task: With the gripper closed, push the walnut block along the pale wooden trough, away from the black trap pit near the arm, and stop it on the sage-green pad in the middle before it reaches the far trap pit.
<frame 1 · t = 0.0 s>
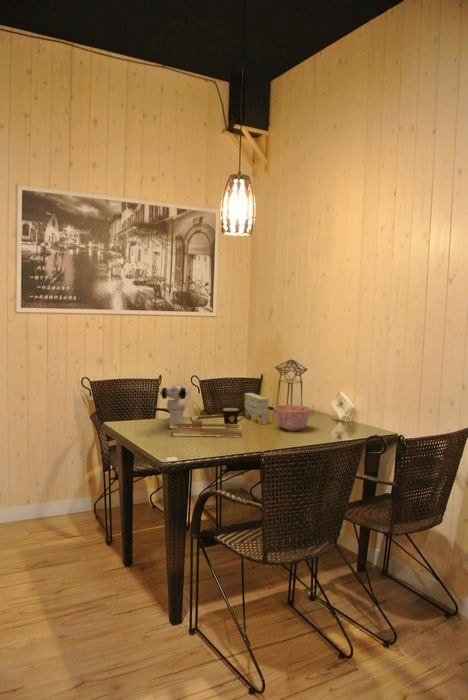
hand: (172, 394, 282), 22 cm above the table, tool horizontal, fingers open, 7 cm apart
geometric lantern: (290, 416, 337), on the table
snack box: (256, 421, 323), on the table
trap trough: (206, 434, 289), on the table
walnut block: (197, 428, 288), point 3 cm above the table, touching trap trough
bowl of food: (291, 429, 303), on the table
coffee mug: (233, 427, 305), on the table
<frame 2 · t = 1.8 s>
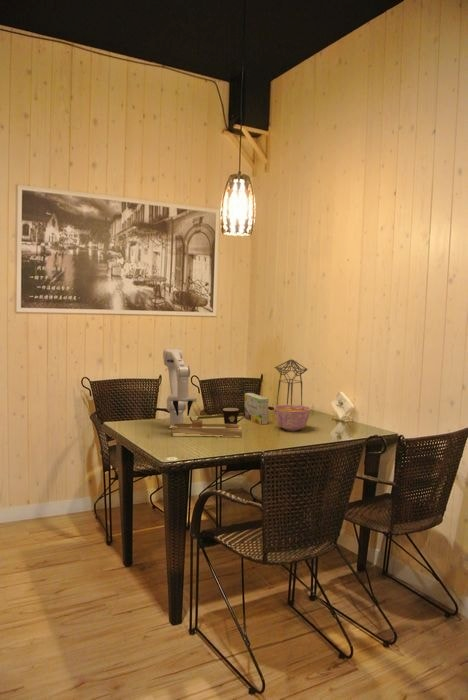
hand: (182, 415, 288), 10 cm above the table, tool pointing down, fingers open, 5 cm apart
nothing on the table moved.
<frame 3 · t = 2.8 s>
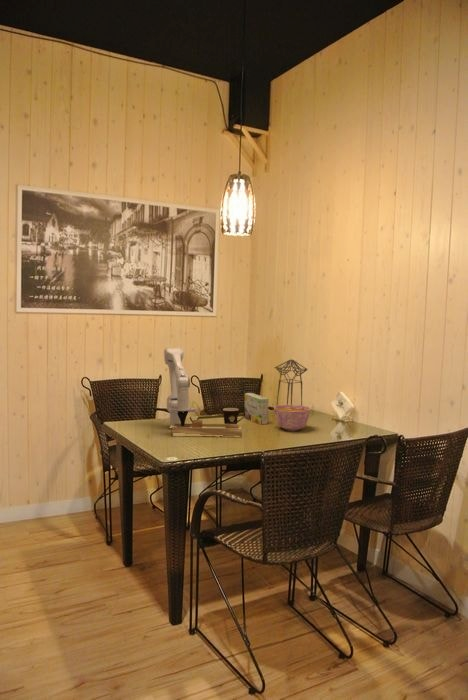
hand: (182, 425, 288), 4 cm above the table, tool pointing down, fingers closed
nothing on the table moved.
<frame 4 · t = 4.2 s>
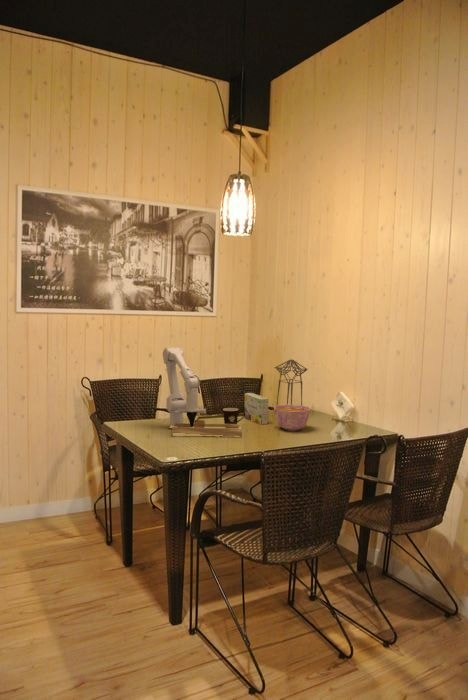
hand: (191, 426, 288), 4 cm above the table, tool pointing down, fingers closed
walnut block: (199, 428, 288), point 3 cm above the table, touching gripper
everything else where it was.
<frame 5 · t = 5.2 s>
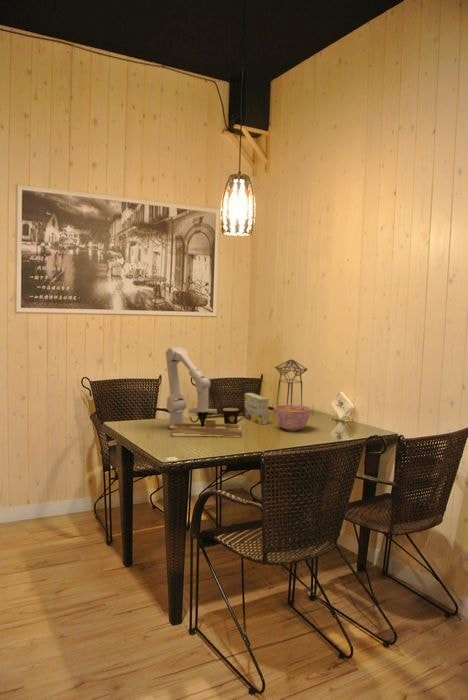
hand: (202, 426, 288), 4 cm above the table, tool pointing down, fingers closed
walnut block: (210, 428, 288), point 3 cm above the table, touching gripper, trap trough
everything else where it was.
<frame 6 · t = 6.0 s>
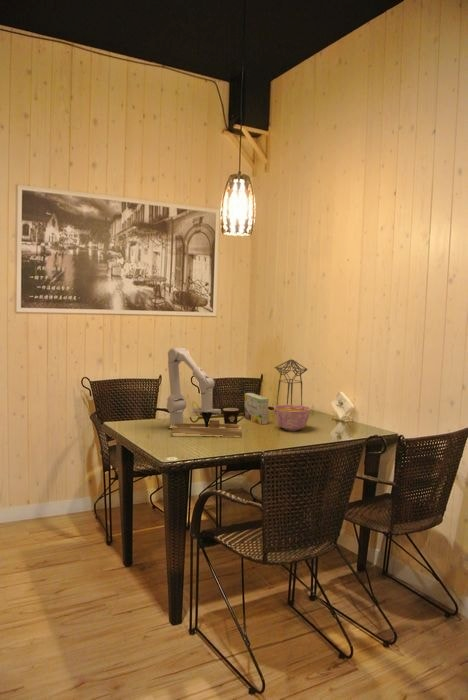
hand: (206, 426, 288), 4 cm above the table, tool pointing down, fingers closed
walnut block: (214, 428, 288), point 3 cm above the table, touching gripper, trap trough
everything else where it was.
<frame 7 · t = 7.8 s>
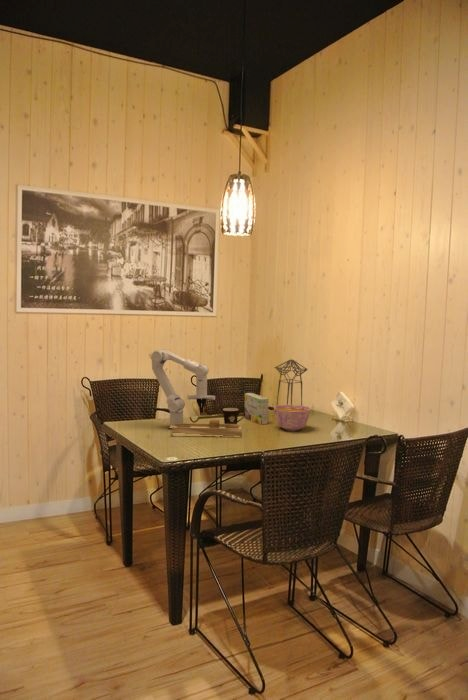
hand: (201, 412, 298), 9 cm above the table, tool pointing down, fingers closed
walnut block: (214, 428, 288), point 3 cm above the table, touching trap trough
everything else where it was.
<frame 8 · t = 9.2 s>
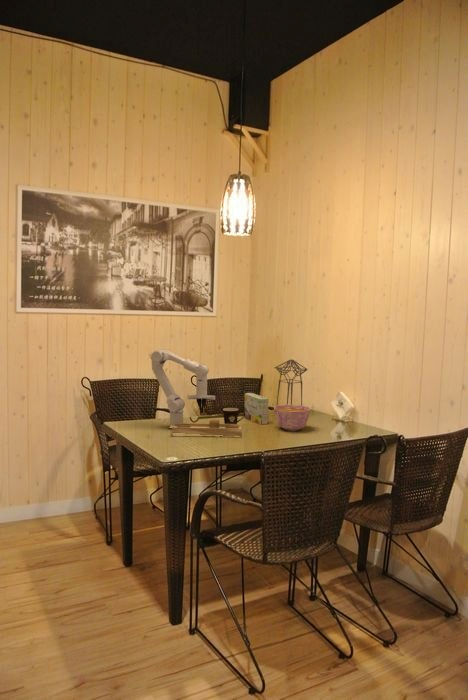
hand: (201, 412, 298), 9 cm above the table, tool pointing down, fingers closed
nothing on the table moved.
at the end: walnut block inside the target area on the trap trough (0.6 cm from its centre), point 3.0 cm above the trap trough's base; walnut block tilted 0°; walnut block moved 8.9 cm from its start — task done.
